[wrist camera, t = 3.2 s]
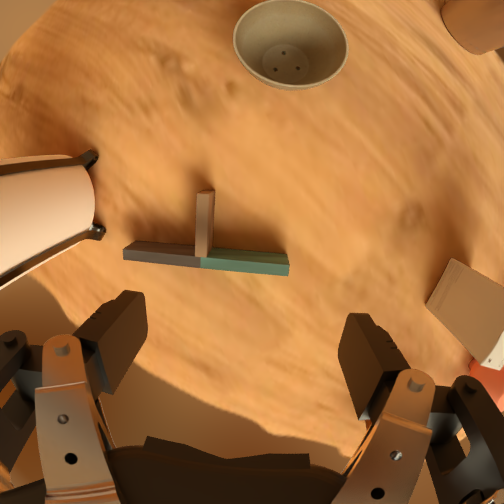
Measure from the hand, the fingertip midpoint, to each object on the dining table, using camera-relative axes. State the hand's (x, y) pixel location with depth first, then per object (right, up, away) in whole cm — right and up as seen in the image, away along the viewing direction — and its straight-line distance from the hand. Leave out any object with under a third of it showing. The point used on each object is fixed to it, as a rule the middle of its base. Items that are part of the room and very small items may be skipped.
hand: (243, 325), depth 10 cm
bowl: (+4, +23, +14) cm, 27 cm away
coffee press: (-25, +9, +20) cm, 33 cm away
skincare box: (+28, -2, +21) cm, 36 cm away
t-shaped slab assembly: (-4, +7, +20) cm, 21 cm away
